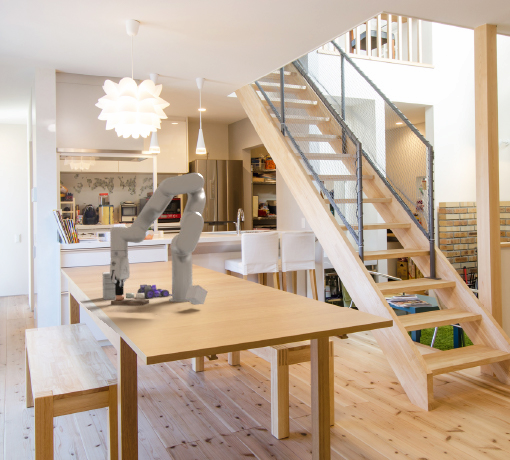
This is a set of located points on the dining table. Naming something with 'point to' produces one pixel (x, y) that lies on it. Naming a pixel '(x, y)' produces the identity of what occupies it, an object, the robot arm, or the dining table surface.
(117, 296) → the terracotta button
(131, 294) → the sage button
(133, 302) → the button plate
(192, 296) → the gray cube
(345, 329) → the dining table surface
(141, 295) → the cream button
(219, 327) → the dining table surface
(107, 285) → the supplement box
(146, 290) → the toy race car
